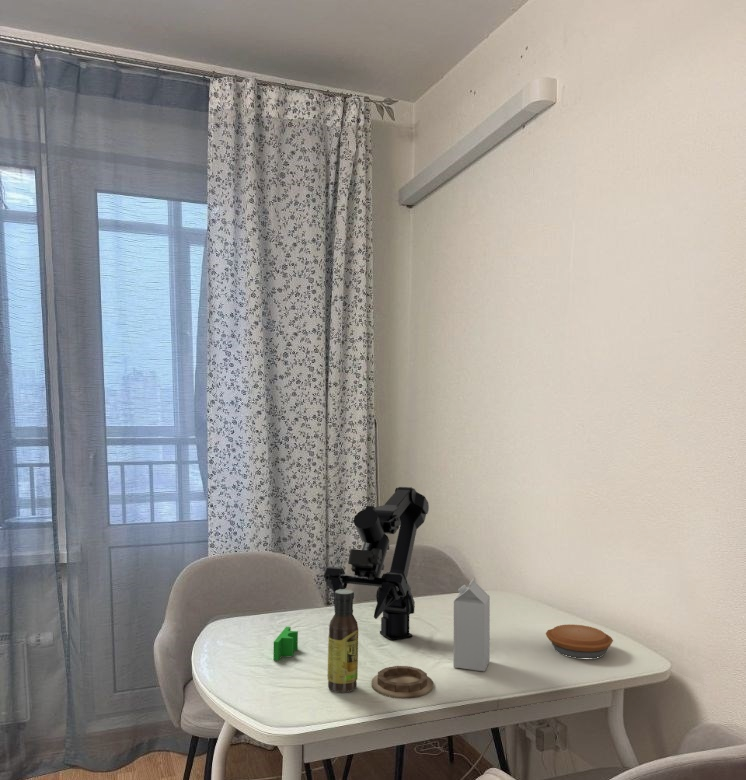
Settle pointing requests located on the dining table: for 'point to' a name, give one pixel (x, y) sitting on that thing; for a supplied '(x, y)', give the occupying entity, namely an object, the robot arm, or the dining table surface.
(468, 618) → the milk carton
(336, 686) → the sauce bottle
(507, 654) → the dining table surface
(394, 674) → the ring holder
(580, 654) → the pie
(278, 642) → the pipe clamp
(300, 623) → the dining table surface
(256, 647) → the dining table surface
